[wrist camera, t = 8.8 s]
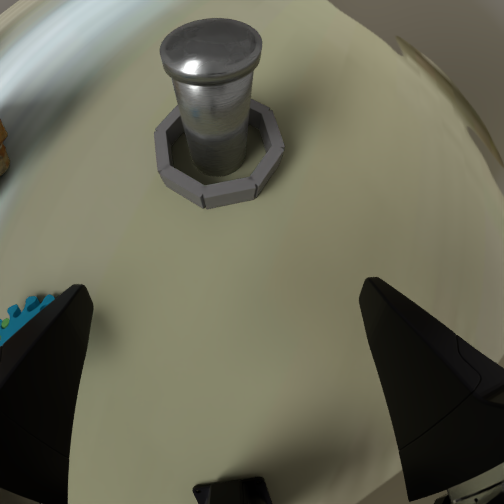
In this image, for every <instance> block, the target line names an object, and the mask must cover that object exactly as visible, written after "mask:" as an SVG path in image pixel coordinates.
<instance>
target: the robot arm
mask: <svg viewBox="0 0 504 504" xmlns="http://www.w3.org/2000/svg"><path fill="white" fill-rule="evenodd" d="M359 304H360V309H361V313H362V317H363V321H364V326H365V330H366V335H367V339H368V343H369V346H370V350H371V353H372V356H373V359H374V362H375V365H376V368H377V372H378V375H379V378H380V382H381V385H382V388H383V392H384V395H385V399H386V402H387V406H388V410H389V413H390V417H391V421H392V425H393V429H394V433H395V437H396V441H397V445H398V450H399V455H400V459H401V464H402V469H403V473H404V479H405V484H406V490H407V495H408V500H409V502H411V501H414V500H418V499H421V498H424V497H427V496H430V495H433V494H436V493H439V492H441V491H444V490H447V492H448V493H447V494H445V495H443V496H441V497H439V498H438V499H436V501H435V503H434V504H504V368H502V367H501V366H499V365H498V364H497V363H495V362H494V361H492V360H491V359H489V358H488V357H486V356H485V355H484V354H482V353H481V352H479V351H478V350H476V349H475V348H474V347H472V346H471V345H470V344H468V343H467V342H466V341H464V340H463V339H462V338H461V337H459V336H458V335H456V334H455V333H454V332H453V331H452V330H450V329H449V328H448V327H446V326H445V325H444V324H442V323H441V322H440V321H438V320H437V319H436V318H434V317H433V316H432V315H430V314H429V313H428V312H426V311H425V310H424V309H422V308H421V307H420V306H418V305H417V304H415V303H414V302H413V301H411V300H410V299H409V298H407V297H406V296H404V295H403V294H402V293H400V292H399V291H397V290H396V289H395V288H393V287H392V286H390V285H389V284H388V283H386V282H385V281H383V280H382V279H380V278H379V277H368V278H366V279H365V281H364V284H363V287H362V290H361V293H360V296H359ZM92 315H93V302H92V300H91V298H90V295H89V293H88V291H87V288H86V287H85V285H83V284H74V285H72V286H71V287H69V288H68V289H67V290H66V291H64V292H63V293H62V294H61V295H59V296H58V297H57V298H56V299H54V300H53V301H52V302H51V303H49V304H48V305H47V306H46V307H45V308H43V309H42V310H41V311H40V312H39V313H37V314H36V315H35V316H34V317H33V318H32V319H30V320H29V321H28V322H27V323H26V324H25V325H24V326H22V327H21V328H20V329H19V330H18V331H17V332H16V333H15V334H13V335H12V336H11V337H10V338H9V339H8V340H7V341H6V342H5V343H4V344H3V346H0V504H41V503H42V504H68V472H69V455H70V444H71V435H72V427H73V420H74V413H75V406H76V400H77V395H78V389H79V384H80V379H81V374H82V369H83V365H84V360H85V356H86V351H87V346H88V340H89V333H90V327H91V320H92ZM257 481H261V482H257ZM197 490H200V491H197ZM193 493H194V496H195V498H196V500H197V502H198V504H272V501H271V499H270V496H269V493H268V490H267V487H266V484H265V480H264V478H262V477H254V478H248V479H243V480H235V481H229V482H222V483H214V484H208V485H198V486H194V487H193Z"/></svg>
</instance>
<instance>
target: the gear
mask: <svg viewBox="0 0 504 504" xmlns="http://www.w3.org/2000/svg"><path fill="white" fill-rule="evenodd" d="M54 299H55V298H54V297H53V296H52V295H50V294H49V295H47V296H46V297H45V298H44V300H43V301H42V303H41V304H40V302H39V300H38V299H37V297H35V296H31V297H28V298H27V299H26V304H25V308H24V310H23V311H22V313H21V310H20V309H19V307H18V305H17V304H16V305H13V306H11V307H9V308H8V310H7V312H8V314H9V315H10V320H9V319H8V318H6V319H4V320H3V321H2V320H1V319H0V346H3V344H4V343H5V342H6V341H7V340H8V339H9V338H10V337H11V336H12V335H13V334H15V333H16V332H17V331H18V330H19V329H20V328H21V327H22V326H24V325H25V324H26V323H27V322H28V321H29V320H30V319H32V318H33V317H34V316H35V315H36V314H37V313H39V312H40V311H41V310H42V309H43V308H45V307H46V306H47V305H48V304H49V303H51V302H52V301H53V300H54Z"/></svg>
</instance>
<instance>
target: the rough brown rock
mask: <svg viewBox="0 0 504 504" xmlns="http://www.w3.org/2000/svg"><path fill="white" fill-rule="evenodd" d="M7 135H8V133H7V132H6V130H5V128H4V127H3V124H2V122H1V120H0V176H1V175H2V174H3V173H4V172H5V171H6V170H7V169H8V168H9V164H10V160H9V157H8V155H7V152H6V148H5V146H4V144H3V141H4V140H5V139H6V137H7Z"/></svg>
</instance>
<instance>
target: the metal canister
mask: <svg viewBox="0 0 504 504" xmlns="http://www.w3.org/2000/svg"><path fill="white" fill-rule="evenodd" d="M261 50H262V39H261V36H260V35H259V33H258V32H257V31H256V30H255V29H254V28H252V27H251V26H249V25H247V24H245V23H243V22H240V21H236V20H232V19H224V18H210V19H202V20H197V21H193V22H190V23H187V24H185V25H182V26H180V27H178V28H177V29H175V30H174V31H172V32H171V33H170V34H168V35H167V36H166V38H165V39H164V40H163V42H162V44H161V46H160V55H161V59H162V64H163V67H164V70H165V72H166V73H167V74H168V75H169V76H170V77H171V78H172V82H173V86H174V91H175V95H176V99H177V103H178V107H179V111H180V115H181V119H182V123H183V127H184V131H185V135H186V139H187V143H188V147H189V151H190V154H191V158H192V162H193V164H194V165H195V167H196V168H197V169H198V170H199V171H200V172H202V173H204V174H206V175H209V176H216V177H219V176H225V175H229V174H231V173H233V172H234V171H236V170H237V169H238V168H239V167H240V166H241V165H242V163H243V162H244V159H245V154H246V143H247V132H248V122H249V111H250V101H251V91H252V81H253V71H254V69H255V68H256V67H257V66H258V64H259V62H260V58H261Z"/></svg>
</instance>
